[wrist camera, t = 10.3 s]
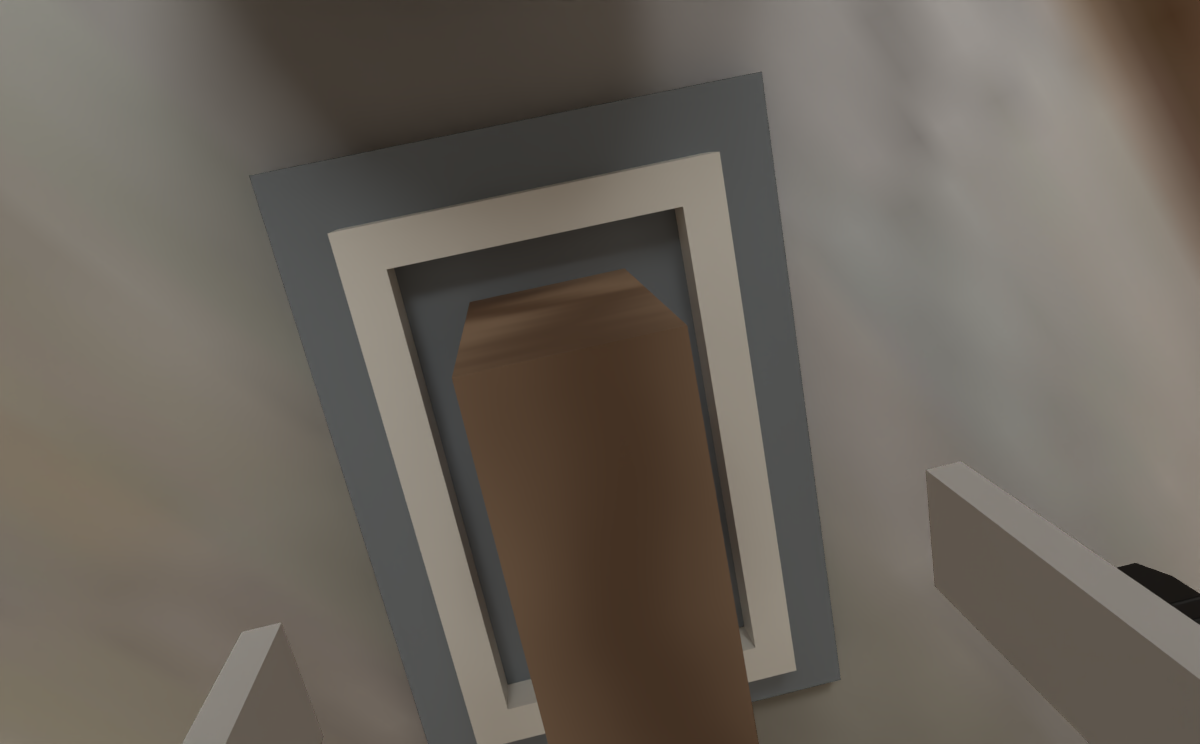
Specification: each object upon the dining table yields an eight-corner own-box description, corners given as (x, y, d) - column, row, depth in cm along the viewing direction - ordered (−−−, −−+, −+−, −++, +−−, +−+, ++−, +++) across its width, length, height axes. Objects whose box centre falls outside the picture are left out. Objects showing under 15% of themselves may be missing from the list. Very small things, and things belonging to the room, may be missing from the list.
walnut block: (552, 632, 25) (573, 838, 18) (469, 302, 22) (451, 377, 15) (687, 599, 26) (766, 788, 18) (624, 268, 22) (687, 325, 15)
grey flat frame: (258, 174, 21) (234, 176, 20) (752, 74, 22) (776, 67, 20) (441, 763, 27) (436, 809, 25) (831, 665, 28) (855, 702, 26)
